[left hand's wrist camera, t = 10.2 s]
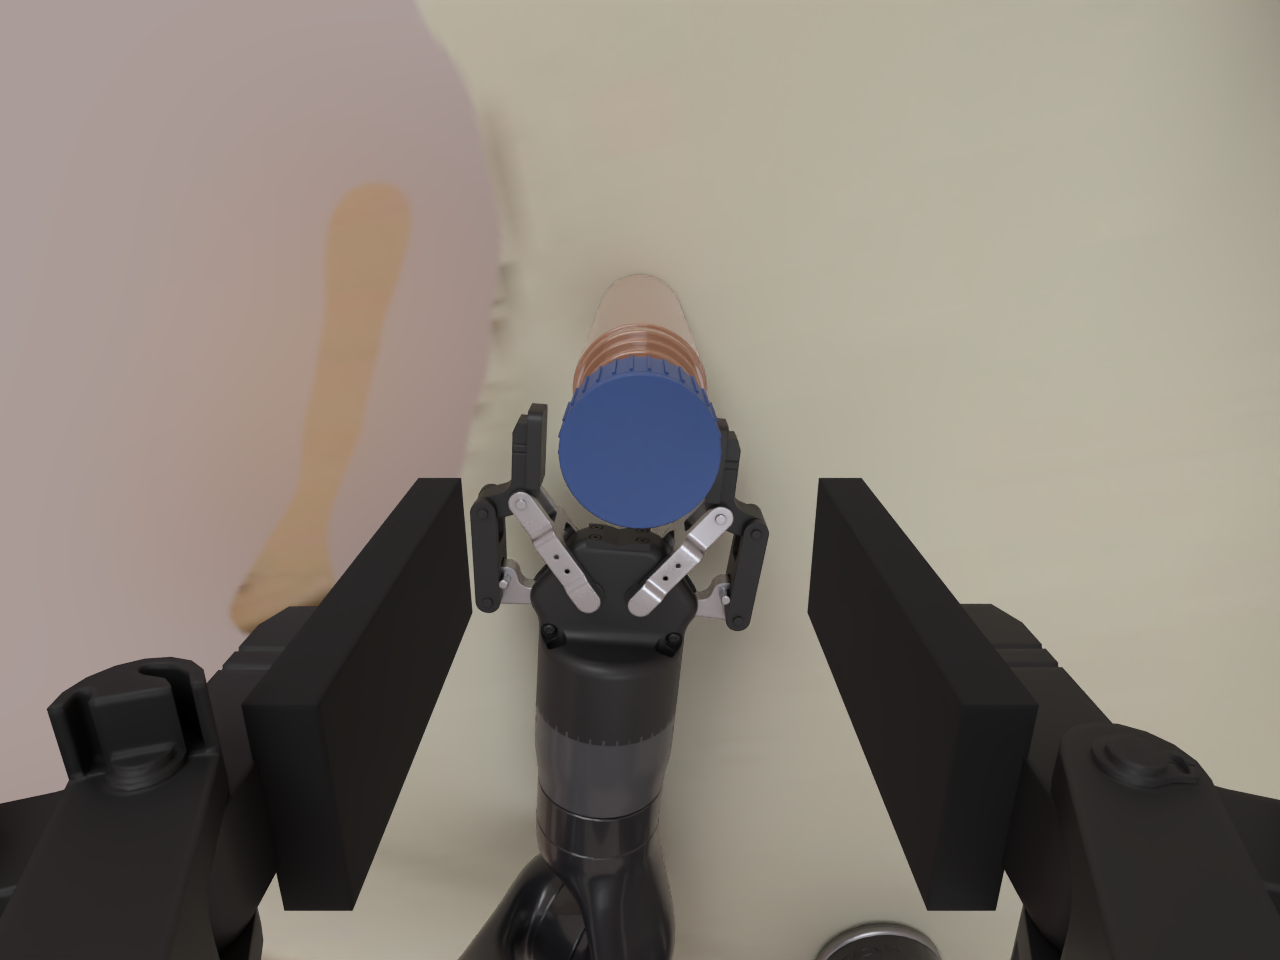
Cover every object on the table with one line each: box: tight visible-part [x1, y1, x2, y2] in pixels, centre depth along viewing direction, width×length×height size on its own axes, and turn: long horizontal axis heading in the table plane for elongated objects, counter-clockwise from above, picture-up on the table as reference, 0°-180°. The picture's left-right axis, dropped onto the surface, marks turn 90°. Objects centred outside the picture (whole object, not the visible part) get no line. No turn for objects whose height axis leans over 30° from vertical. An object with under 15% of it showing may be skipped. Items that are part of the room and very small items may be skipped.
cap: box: [558, 355, 722, 528], centre depth 20 cm, size 4×4×2 cm
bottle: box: [573, 275, 707, 395], centre depth 30 cm, size 4×4×23 cm
